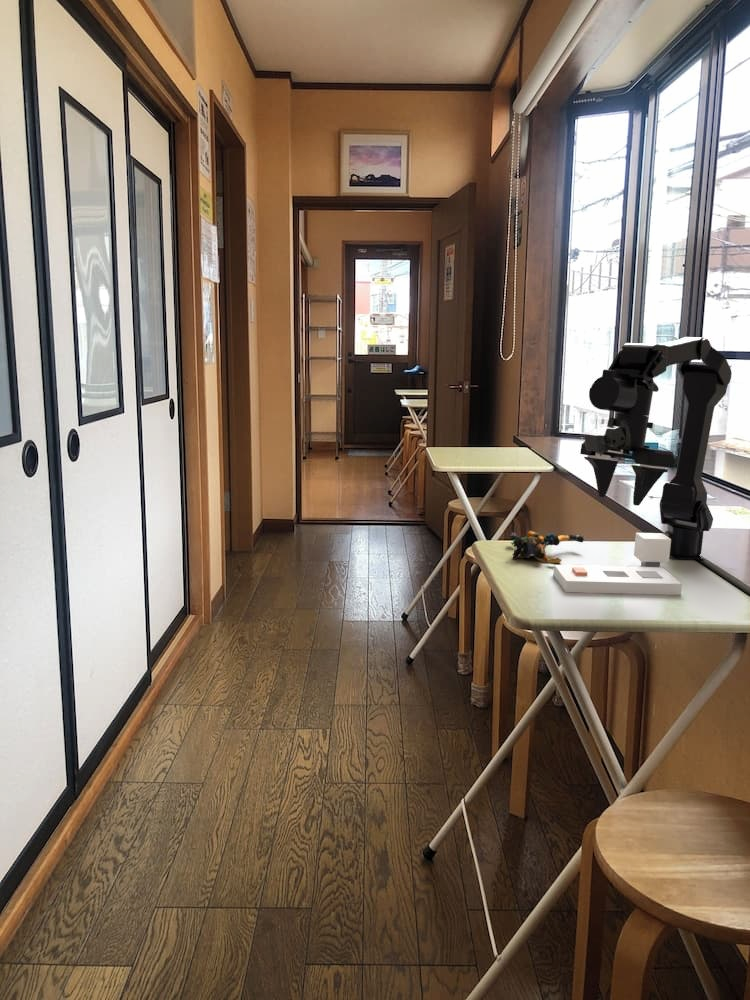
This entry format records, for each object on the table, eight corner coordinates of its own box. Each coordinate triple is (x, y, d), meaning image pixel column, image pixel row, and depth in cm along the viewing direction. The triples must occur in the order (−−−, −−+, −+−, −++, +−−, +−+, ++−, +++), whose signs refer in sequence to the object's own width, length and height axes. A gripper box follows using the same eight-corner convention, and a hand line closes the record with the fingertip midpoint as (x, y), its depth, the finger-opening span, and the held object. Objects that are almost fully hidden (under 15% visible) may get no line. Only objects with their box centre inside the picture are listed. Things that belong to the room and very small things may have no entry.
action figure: (582, 551, 169) (584, 570, 155) (509, 545, 172) (505, 563, 158) (584, 525, 168) (587, 542, 154) (511, 519, 171) (507, 535, 157)
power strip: (660, 577, 151) (662, 564, 151) (680, 594, 141) (682, 580, 141) (553, 575, 151) (554, 561, 150) (565, 592, 141) (566, 577, 141)
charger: (659, 565, 159) (662, 533, 158) (667, 572, 155) (671, 539, 153) (632, 564, 159) (635, 532, 158) (640, 571, 155) (643, 538, 153)
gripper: (563, 406, 150) (550, 490, 152) (633, 412, 133) (618, 507, 135) (610, 413, 154) (598, 494, 156) (684, 420, 138) (669, 510, 139)
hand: (618, 501), depth 146 cm, fingers open, 9 cm apart
